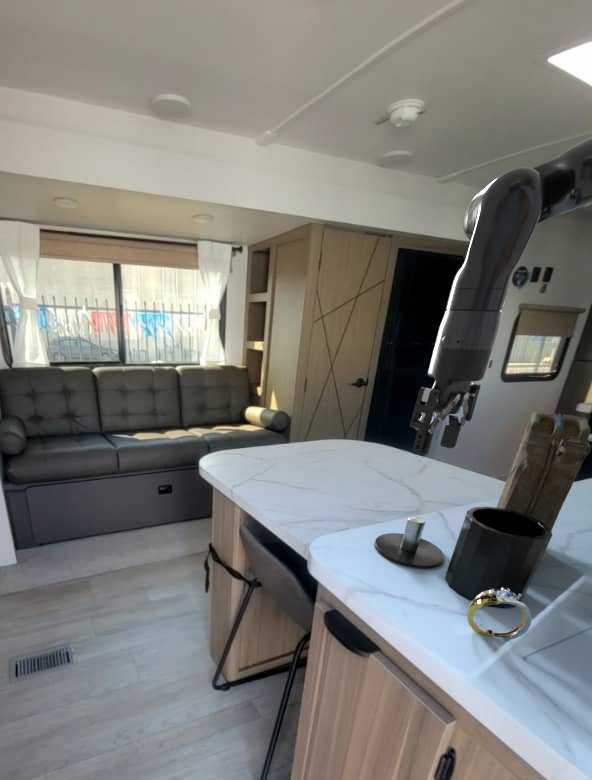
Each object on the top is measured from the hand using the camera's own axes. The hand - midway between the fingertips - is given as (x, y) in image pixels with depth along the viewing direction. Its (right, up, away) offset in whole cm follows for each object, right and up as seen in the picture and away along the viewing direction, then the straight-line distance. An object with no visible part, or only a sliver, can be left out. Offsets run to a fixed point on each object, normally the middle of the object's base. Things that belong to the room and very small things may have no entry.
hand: (433, 450), depth 67 cm
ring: (+1, -28, -11) cm, 30 cm away
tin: (+7, -23, -1) cm, 24 cm away
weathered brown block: (+20, -18, +10) cm, 29 cm away
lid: (0, -17, +8) cm, 19 cm away
